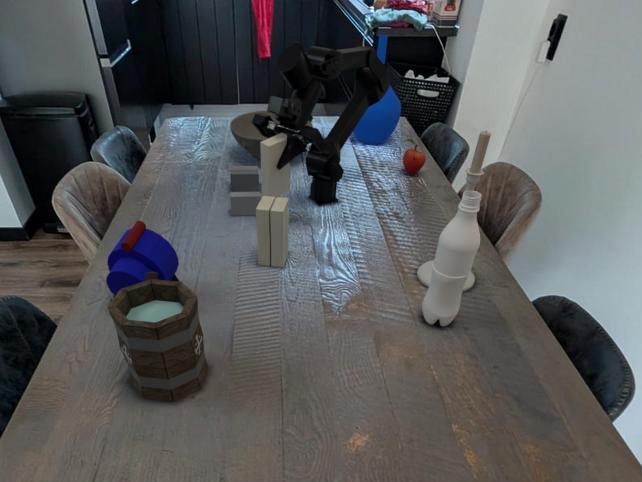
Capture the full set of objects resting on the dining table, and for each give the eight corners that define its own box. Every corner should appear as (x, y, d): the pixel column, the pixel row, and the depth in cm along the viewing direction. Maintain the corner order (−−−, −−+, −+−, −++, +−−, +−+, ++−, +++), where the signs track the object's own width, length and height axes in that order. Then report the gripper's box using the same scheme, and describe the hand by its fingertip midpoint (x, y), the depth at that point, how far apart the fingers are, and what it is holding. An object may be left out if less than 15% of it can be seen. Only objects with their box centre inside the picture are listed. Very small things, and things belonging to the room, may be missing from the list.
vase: (368, 128, 180) (380, 28, 159) (406, 141, 171) (424, 37, 150) (335, 138, 172) (342, 34, 150) (373, 152, 163) (386, 43, 141)
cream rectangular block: (282, 186, 121) (282, 132, 110) (289, 190, 120) (290, 136, 109) (261, 196, 118) (260, 142, 107) (269, 201, 117) (268, 146, 106)
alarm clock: (186, 287, 102) (174, 219, 92) (162, 319, 94) (146, 249, 83) (133, 279, 104) (116, 211, 93) (106, 310, 96) (83, 240, 85)
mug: (214, 394, 80) (203, 321, 69) (131, 408, 78) (106, 334, 67) (199, 326, 93) (188, 256, 82) (128, 336, 90) (107, 264, 80)
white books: (264, 250, 114) (262, 195, 105) (288, 252, 114) (288, 198, 104) (258, 264, 110) (255, 209, 100) (283, 267, 109) (283, 211, 100)
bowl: (325, 153, 161) (327, 120, 153) (282, 178, 145) (282, 142, 138) (262, 137, 170) (261, 105, 163) (215, 159, 155) (212, 125, 147)
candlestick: (406, 268, 110) (436, 123, 88) (451, 258, 114) (491, 116, 92) (438, 297, 102) (480, 145, 80) (486, 286, 106) (538, 137, 84)
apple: (416, 168, 153) (422, 134, 146) (426, 176, 149) (433, 141, 142) (394, 170, 152) (400, 136, 144) (404, 178, 147) (410, 143, 140)
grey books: (258, 183, 142) (257, 165, 138) (261, 215, 127) (260, 196, 124) (231, 183, 141) (230, 166, 138) (231, 215, 127) (230, 196, 123)
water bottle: (415, 309, 99) (445, 185, 81) (448, 308, 99) (485, 185, 81) (424, 330, 94) (458, 203, 76) (459, 329, 95) (501, 203, 76)
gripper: (254, 71, 107) (225, 137, 109) (321, 86, 99) (287, 157, 101) (277, 104, 117) (249, 164, 119) (339, 120, 109) (308, 184, 111)
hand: (272, 167), depth 112 cm, fingers closed on cream rectangular block, 3 cm apart
